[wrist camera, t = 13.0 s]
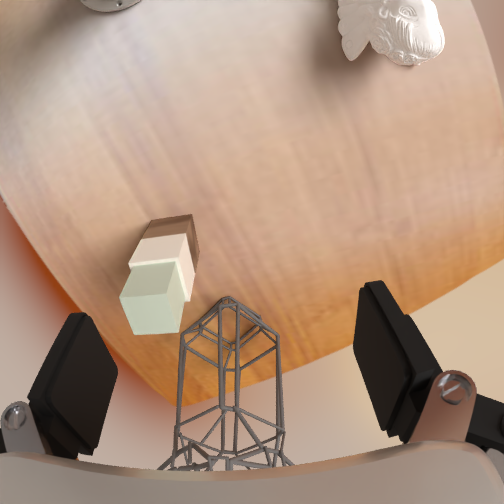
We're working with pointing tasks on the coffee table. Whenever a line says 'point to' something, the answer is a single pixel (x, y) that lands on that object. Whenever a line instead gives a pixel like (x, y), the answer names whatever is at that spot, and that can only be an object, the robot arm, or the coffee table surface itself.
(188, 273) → the cream block
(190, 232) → the walnut block
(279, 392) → the geometric lantern
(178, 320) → the sage block
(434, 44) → the cherub figurine
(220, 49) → the coffee table surface
